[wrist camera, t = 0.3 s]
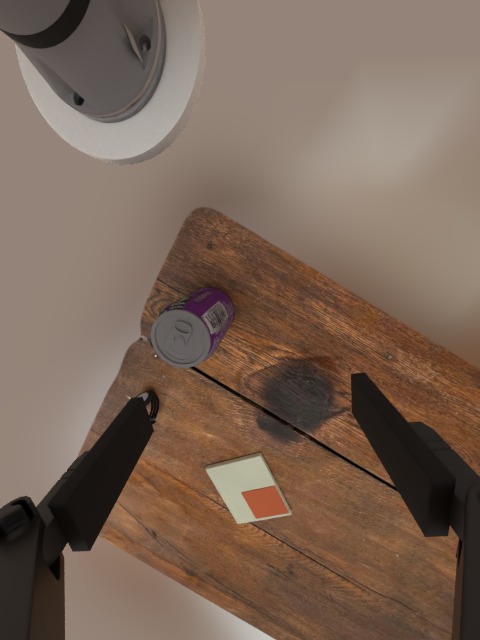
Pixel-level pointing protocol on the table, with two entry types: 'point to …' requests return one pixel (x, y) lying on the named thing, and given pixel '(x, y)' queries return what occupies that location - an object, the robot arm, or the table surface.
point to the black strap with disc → (147, 398)
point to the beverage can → (192, 327)
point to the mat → (249, 488)
